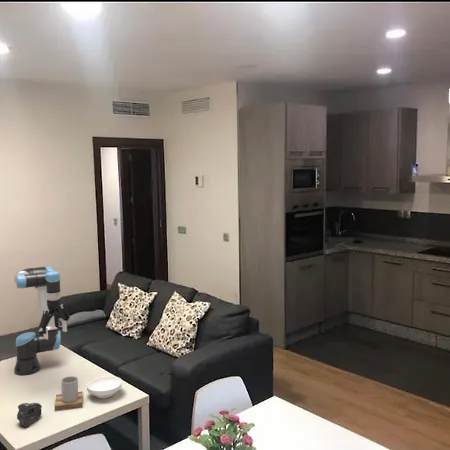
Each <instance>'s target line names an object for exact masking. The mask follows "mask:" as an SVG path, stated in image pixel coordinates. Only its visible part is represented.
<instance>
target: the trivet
mask: <svg viewBox="0 0 450 450" xmlns="http://www.w3.org/2000/svg"><path fill="white" fill-rule="evenodd" d="M83 393H84V392H83V391H78V399H77V400H76V401H74V402H70V403H66V402H63V401H62V393H58V394H55V400H54V411H55V412H58V411H65V410H71V409H72V410H73V409H81V408H83V404H84V403H83V399H84V398H83V397H84V396H83Z"/></svg>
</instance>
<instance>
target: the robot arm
mask: <svg viewBox="0 0 450 450" xmlns="http://www.w3.org/2000/svg"><path fill="white" fill-rule="evenodd" d="M13 278H14V283H15V284H16V288H17V289H26V288H27V289H29V288H34V289H35V290H36V291H37V298H38V299H37V300H38V310H39V312H38V313H39V321H40V322H39V325H38V328H39V330H38V333H37V334H36V332H34V331H31V332H30V331H29V332H24V333H21V334H19V335H18V336H17V337H16V339H15V350H16V361H15V365H14V369H13V370H14V374H15V375H18V376H27V375H28V376H29V375H32V374H36V373H38V372H39V371H40V370H41V364H40V361H39V360H38V357H37V354H39V353H45V352H51V351H52V352H53V351H56V350H59V349H60V348H61V343H62V342H61V340H62V339H61V338H62V335H61V334H62V333H61V330H59V329H58V327H57V326H56V323H55V316H57V315H58V316H59V317H60V318H61V319H62V320H61V323H62V324H61V325H62V332H63V333H66V332H68V321H69V319H70V318H71V317H70V314H69V312H68V311H67V308H66V305H65V304H63V303H62V298H61V296H62V295H61V275H60V272H59V271H57V270H56V271H55V270H54V269H53V267H52V266H38V267H37V266H36V267H28V268H27V267H26V268H23V269H21V270H19V271H18V272H16V273H15V275H14V277H13Z"/></svg>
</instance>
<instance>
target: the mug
mask: <svg viewBox="0 0 450 450" xmlns="http://www.w3.org/2000/svg"><path fill="white" fill-rule="evenodd" d="M78 392H79V379H78V377H77V376H71V375H70V376H66V377H63V378H62V379H61V394H62V401H63V402H66V403H70V402H74V401H76V400H77V399H78Z"/></svg>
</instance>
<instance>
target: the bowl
mask: <svg viewBox="0 0 450 450" xmlns="http://www.w3.org/2000/svg"><path fill="white" fill-rule="evenodd" d="M85 386H86V390H87V393H89V394H90V395H92V396H95V397H96V398H98V399H107V398H111V397H112V396H114V394H115V393H116V392H119V391H120V390H121V388H122V386H123V380H122V378H121V377H119V376H114V375H101V376H98V377H97V376H96V377H95V378H93V379H92V378H91V380H89V381H88V382H86V385H85Z"/></svg>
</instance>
